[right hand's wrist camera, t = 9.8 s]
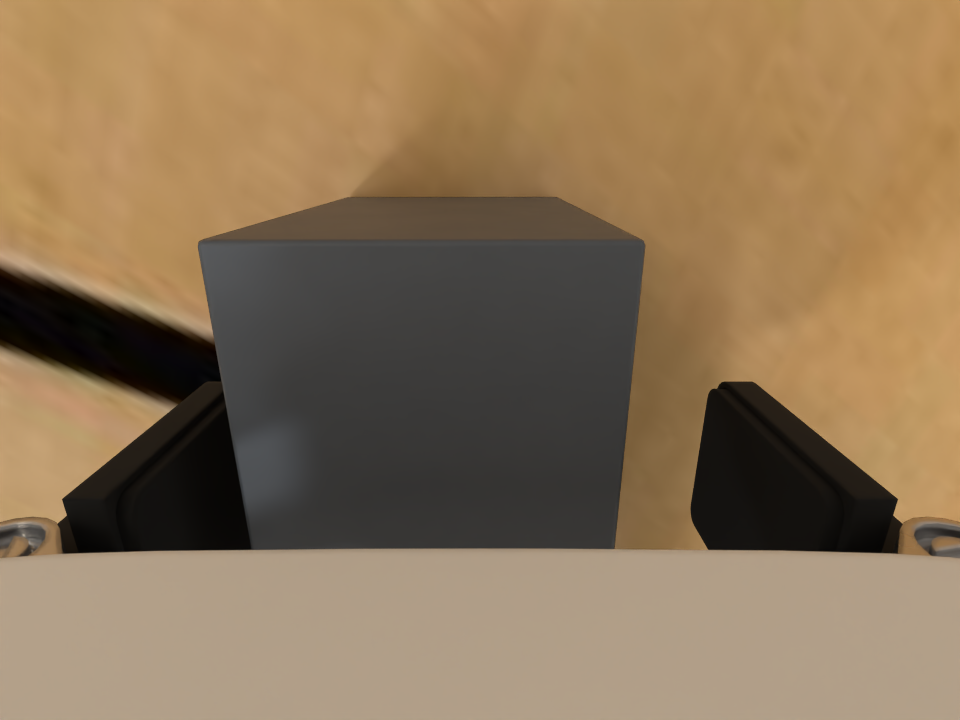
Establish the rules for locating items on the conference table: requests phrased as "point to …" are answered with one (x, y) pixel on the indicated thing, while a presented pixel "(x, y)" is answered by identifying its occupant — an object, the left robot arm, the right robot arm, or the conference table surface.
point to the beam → (427, 372)
